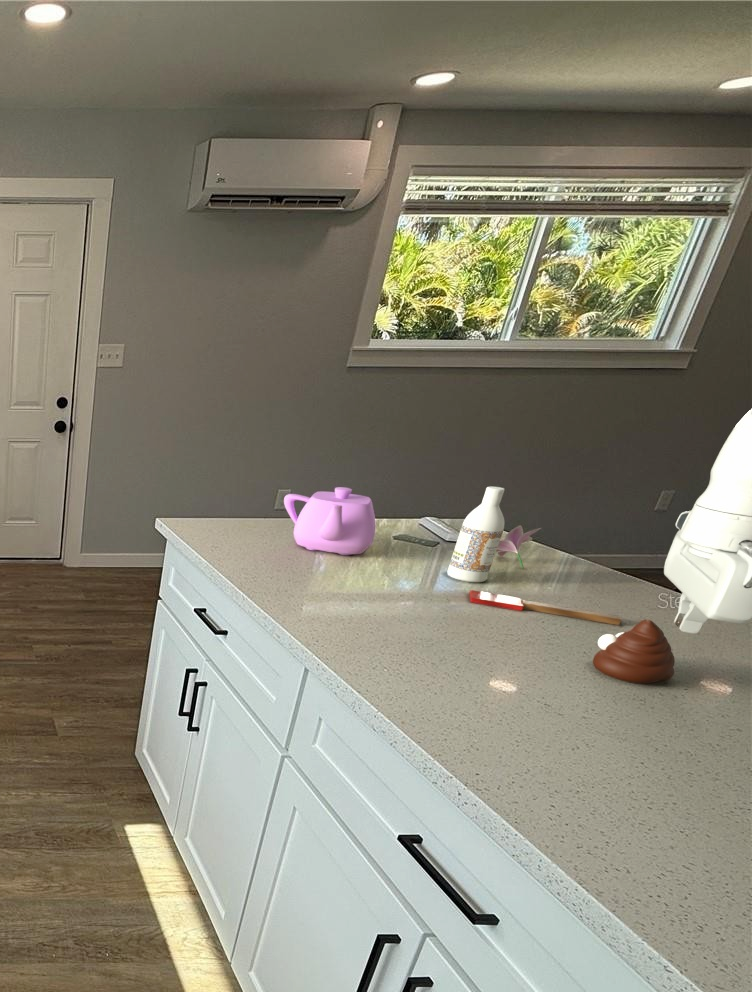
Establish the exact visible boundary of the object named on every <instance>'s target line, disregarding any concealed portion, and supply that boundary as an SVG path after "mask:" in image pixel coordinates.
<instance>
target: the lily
mask: <svg viewBox="0 0 752 992" xmlns="http://www.w3.org/2000/svg"><path fill="white" fill-rule="evenodd" d="M539 530H542V527H539V528H535V529H531V530H529V531H526V532H524V529H523V526H522V525H517V526H516V527H514V528H513V529H511V530H510V531H508V533H506V535H505V536H504V537H503V538H501V540H500V542H499V545H498V547H497V550H496V553H497V556H498V557H499V558H502V557H503V556H504V555H506V554H507V553H508V552H509V553H510V552H511V553H516V555H517V557H518V560H519V563H520V566H521V567H520V568H521V569H524V564H523V562H522V558H521V556H520V553H519V548H520V546H521V544H523V543H527V542H531V541H533V537H531V536H532V535H533V534H535V533H537V532H539Z"/></svg>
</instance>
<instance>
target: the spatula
mask: <svg viewBox="0 0 752 992" xmlns="http://www.w3.org/2000/svg"><path fill="white" fill-rule="evenodd" d="M468 596H469V602H470V603H473V604H478V605H485V606H490V607H491V606H492V607H496V608H501V609H502V608H503V609H508V610H514V611H520V612H522V611H523V610H529V611H533V612H538V613H545V614H552V615H556V616H562V617H569V618H574V619H580V620H586V621H592V622H597V623H599V622H600V623H604V624H609V625H614V626H615V625H616V626H620V624H621V622H622V618H621V616H620V615H615V614H611V613H604V612H599V611H593V610H586V609H585V610H584V609H581V608H575V607H568V606H562V605H556V604H550V603H543V602H539V601H538V602H537V601H532V600H527V599H521V597H516V596H515V597H514V596H510V595H503V594H497V593H492V592H485V591H479V590H473V589H470V590H469V593H468Z"/></svg>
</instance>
